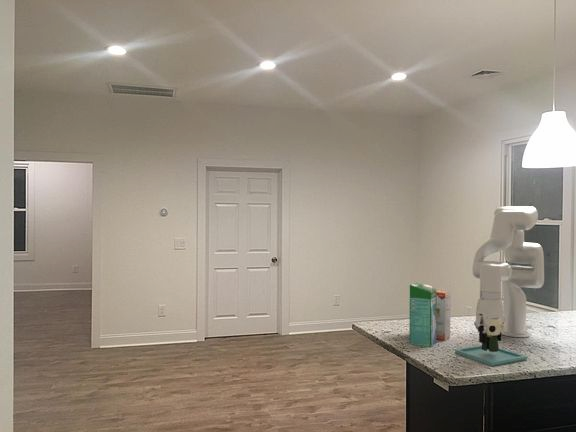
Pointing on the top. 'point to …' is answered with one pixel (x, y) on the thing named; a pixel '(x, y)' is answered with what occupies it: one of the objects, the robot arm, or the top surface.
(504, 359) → the tray
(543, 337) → the top surface
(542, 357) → the top surface
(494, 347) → the character mug
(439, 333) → the cracker box
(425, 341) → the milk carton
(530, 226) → the robot arm
